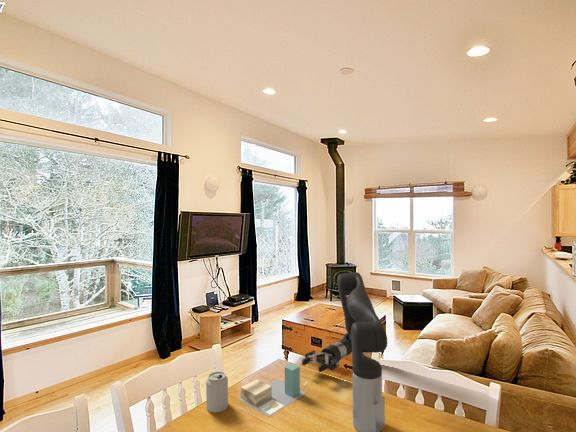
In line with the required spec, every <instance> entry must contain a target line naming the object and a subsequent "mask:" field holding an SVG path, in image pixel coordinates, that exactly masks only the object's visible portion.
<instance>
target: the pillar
mask: <svg viewBox="0 0 576 432" xmlns="http://www.w3.org/2000/svg"><path fill="white" fill-rule="evenodd" d="M300 369H301V368H300V366H299V365H297V364H293V363H290V364H288V365H286V366H284V382H285V394H287V395H289V396H291V397H294V396H296V395H298V394H299V393H300V390H301V376H300V375H301V371H300Z"/></svg>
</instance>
